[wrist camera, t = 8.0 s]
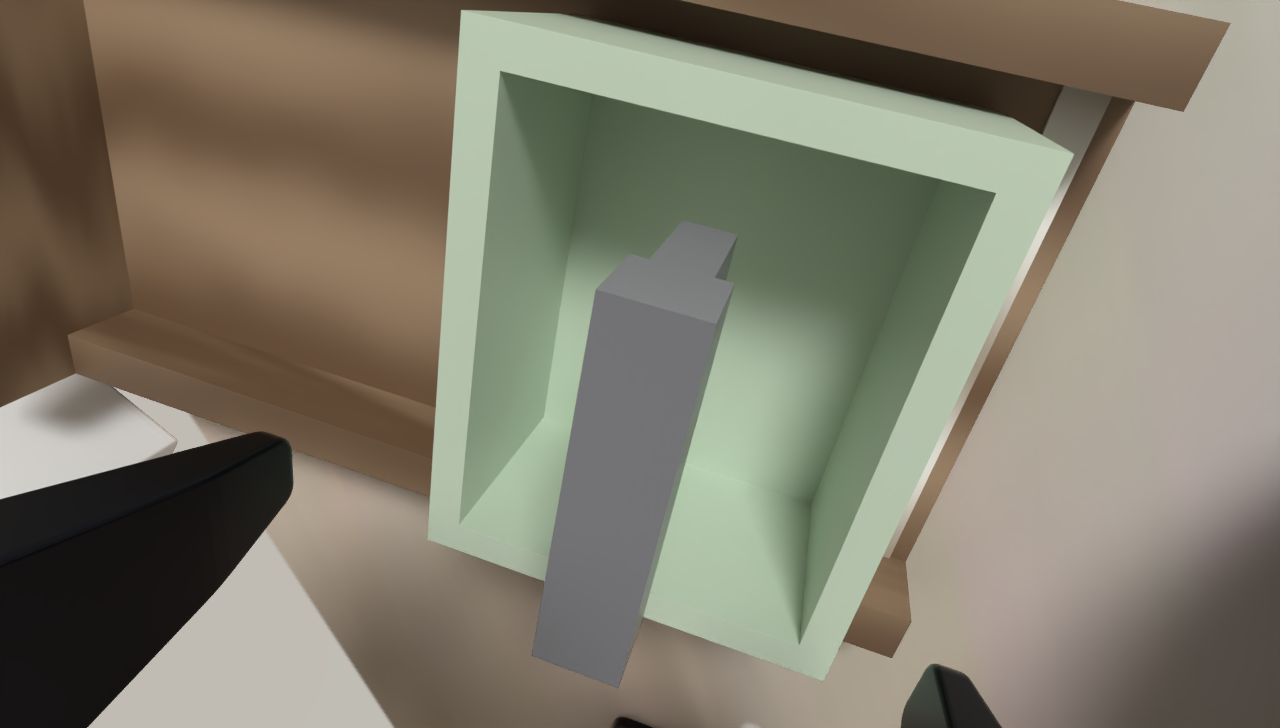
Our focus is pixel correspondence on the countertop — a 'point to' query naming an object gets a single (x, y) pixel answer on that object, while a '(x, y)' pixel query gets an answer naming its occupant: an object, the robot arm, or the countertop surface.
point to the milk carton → (73, 435)
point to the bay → (427, 192)
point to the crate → (705, 326)
